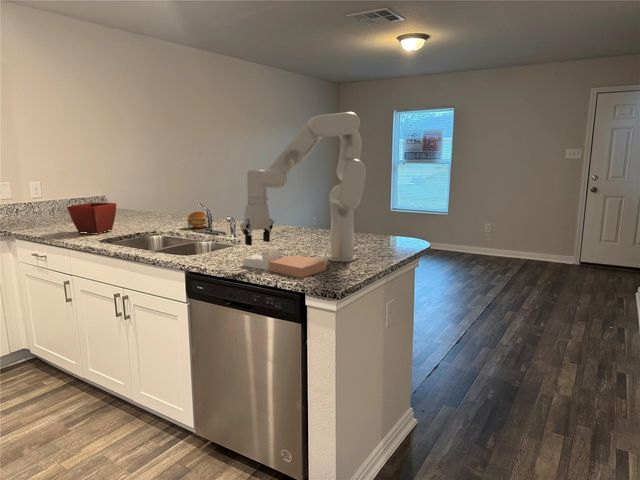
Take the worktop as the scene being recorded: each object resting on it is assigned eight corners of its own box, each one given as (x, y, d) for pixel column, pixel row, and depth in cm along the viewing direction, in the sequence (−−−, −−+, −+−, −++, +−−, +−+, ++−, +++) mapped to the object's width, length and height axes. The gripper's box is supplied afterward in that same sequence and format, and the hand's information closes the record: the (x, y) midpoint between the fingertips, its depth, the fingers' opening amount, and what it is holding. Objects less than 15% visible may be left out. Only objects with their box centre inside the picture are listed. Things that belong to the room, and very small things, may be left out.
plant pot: (69, 234, 259) (66, 206, 256) (94, 229, 277) (91, 202, 273) (96, 236, 253) (92, 206, 250) (120, 230, 271) (117, 203, 268)
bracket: (279, 266, 180) (278, 248, 179) (267, 270, 174) (267, 251, 173) (255, 262, 187) (254, 245, 186) (243, 266, 182) (242, 248, 180)
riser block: (294, 264, 184) (294, 255, 183) (325, 270, 173) (325, 260, 172) (269, 271, 173) (269, 261, 173) (301, 278, 163) (301, 268, 162)
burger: (214, 227, 279) (213, 211, 277) (198, 230, 268) (197, 214, 266) (199, 225, 286) (198, 210, 284) (182, 228, 275) (181, 212, 273)
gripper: (266, 198, 185) (267, 239, 188) (233, 201, 172) (234, 245, 175) (279, 200, 180) (279, 241, 183) (246, 203, 167) (247, 247, 170)
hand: (257, 243), depth 179 cm, fingers open, 9 cm apart
